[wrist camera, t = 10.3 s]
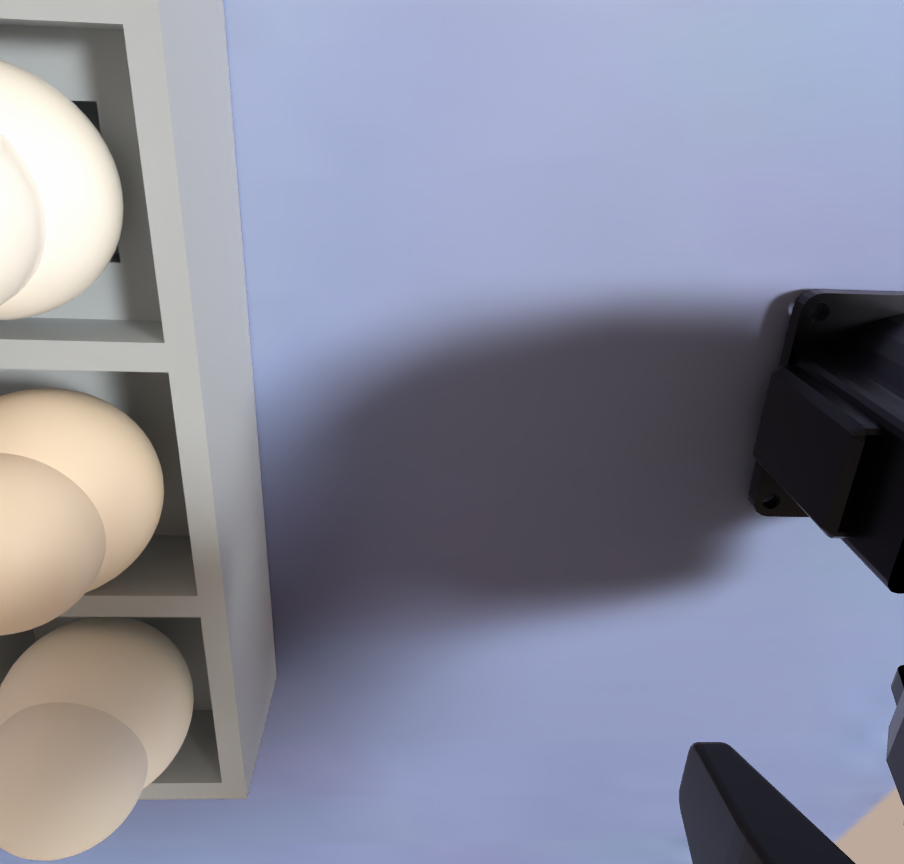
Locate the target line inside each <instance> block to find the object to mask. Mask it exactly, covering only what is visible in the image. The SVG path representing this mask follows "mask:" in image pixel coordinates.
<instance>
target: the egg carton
mask: <svg viewBox="0 0 904 864" xmlns="http://www.w3.org/2000/svg"><path fill="white" fill-rule="evenodd" d="M0 59H1V60H3V61H6V62H8V63H11V64H13V65H16V66H19V67H21V68H23V69H25V70H27V71H29V72H31V73H33V74H34V75H36V76H38V77H40V78H42V79H44V80H45V81H46V82H48V83H49V84H51V85H52V86H54V87H55V88H57V89H58V90H59V91H60V92H62V93H63V94H64V95H65V96H66V97H67V98H69V99H70V100H71V101H72V102H73V103H74V104H75V105H76V106H77V107H78V108H79V109H80V110H81V111H82V112H83V113H84V114H85V115H86V116H87V117H88V119H89V120H90V121H91V122H92V124H93V125H94V126H95V128H96V129H97V130H98V132H99V133H100V135H101V137H102V138H103V140H104V142H105V143H106V145H107V147H108V149H109V151H110V153H111V155H112V157H113V159H114V162H115V165H116V168H117V171H118V174H119V177H120V182H121V187H122V192H123V205H124V208H123V224H122V229H121V234H120V239H119V242H118V245H117V247H116V250H115V253H114V254H113V256H112V258H111V260H110V262H109V264H108V265H107V267H106V269H105V270H104V271H103V273H102V274H101V275H100V277H99V278H98V279H97V280H96V281H95V282H94V283H93V284H92V285H91V286H90V287H89V288H88V289H87V290H86V291H84V292H83V293H82V294H81V295H79V296H78V297H76V298H75V299H73V300H72V301H70V302H69V303H66V304H64V305H62V306H60V307H58V308H56V309H54V310H51V311H49V312H46V313H43V314H39V315H36V316H31V317H26V318H20V319H13V320H0V848H2V849H3V850H5V851H7V852H8V853H10V854H13V855H15V856H18V857H21V858H24V859H30V860H42V861H48V860H57V859H62V858H66V857H70V856H74V855H76V854H79V853H81V852H84V851H86V850H88V849H90V848H92V847H93V846H95V845H97V844H98V843H100V842H101V841H103V840H104V839H106V838H107V837H108V836H109V835H110V834H111V833H113V832H114V831H115V830H116V829H117V828H118V827H119V826H120V825H121V824H122V823H123V821H124V820H125V819H126V818H127V816H128V815H129V814H130V812H131V811H132V809H133V808H134V806H135V804H136V803H137V801H138V800H160V799H247V797H248V793H249V789H250V785H251V780H252V776H253V772H254V768H255V764H256V760H257V756H258V752H259V748H260V744H261V740H262V735H263V731H264V727H265V723H266V719H267V715H268V711H269V707H270V703H271V699H272V695H273V690H274V686H275V682H276V678H277V671H276V658H275V645H274V633H273V620H272V608H271V595H270V582H269V570H268V557H267V545H266V532H265V519H264V507H263V494H262V482H261V469H260V456H259V444H258V431H257V418H256V406H255V393H254V381H253V368H252V355H251V343H250V330H249V318H248V305H247V292H246V280H245V267H244V255H243V242H242V229H241V217H240V204H239V192H238V179H237V166H236V154H235V141H234V128H233V116H232V103H231V91H230V78H229V65H228V53H227V40H226V28H225V15H224V2H223V0H0Z"/></svg>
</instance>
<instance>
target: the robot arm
mask: <svg viewBox="0 0 904 864" xmlns="http://www.w3.org/2000/svg"><path fill="white" fill-rule="evenodd" d="M818 303H821V304H822V309H821V311H820V313H819V314H818V315H817V316H815V317H813V318H810V311H811V309H812V307H813V306H815V305H816V304H818ZM753 456H754V457H755V458H756V460H757V461H756V465H755V469H754V473H753V478H752V482H751V486H750V490H749V498H748V500H749V502H750V504H751V505H752V507H753V508H754V509H755V510H756V512H758V513H759V514H761V515H763V516H779V517H810V518H811V519H812V520H813V521H814V522H815V523H816V524H817V526H818V527H819V528H820V529H821V530H822V531H823V532H824V533H825V534H826V535H827V536H828V537H830V538H841V539H842V540H843V542H844V543H845V544H846V545H847V546H848V547H849V548H850V549H851V550H852V551H853V552H854V553H855V554H856V555H857V556H858V557H859V558H860V559H861V560H862V561H863V562H864V564H865V565H866V566H867V567H868V568H869V569H870V570H871V571H872V572H873V573H874V574H875V575H876V576H877V577H878V578H879V579H880V580H881V581H882V582H883V583H884V584H885V586H886V587H887V588H888V589H889V590H890V591H891V592H894V593H904V292H893V291H860V290H826V289H815V290H809V291H807V292H805V293H804V294H802V295H801V296H800V297H799V298H798V299H797V300H796V302H795V305H794V307H793V310H792V314H791V319H790V323H789V327H788V331H787V335H786V340H785V344H784V348H783V352H782V356H781V360H780V365H779V367H778V368H777V369H776V370H775V371H774V372H773V373H772V375H771V379H770V383H769V388H768V392H767V396H766V400H765V405H764V409H763V413H762V417H761V421H760V426H759V430H758V434H757V438H756V443H755V447H754V451H753ZM772 493H774V496H773V497H772V499H770V500H769V501H766V502H763V499H764V498H765V497H766V496H767V495H768V494H772ZM891 689H892V692H893V695H894V699H895V702H896V705H897V708H896V710H895V713H894V715H893V718H892V720H891V723H890V725H889V732H888V745H887V759H886V760H887V763H888V766H889V768H890V771H891V774H892V776H893V779H894V782H895V784H896V787H897V790H898V792H899V795H900V798H901V800H902V803H903V805H904V665H902V666H899V667H898V669H897V672H896V674H895V677H894V680H893V682H892V685H891ZM679 803H680V810H681V815H682V819H683V823H684V828H685V832H686V836H687V841H688V845H689V849H690V854H691V858H692V862H693V864H855V863H854V862H853V861H852V860H851V859H850V858H849V857H848V856H847V855H845V853H844V852H843V851H841V850H840V849H839V848H838V847H837V846H836V845H835V844H834V843H833V842H832V841H831V840H830V839H829V838H828V837H827V836H826V835H824V834H823V833H822V832H821V831H820V830H819V829H818V828H817V827H816V826H815V825H814V824H813V823H812V822H811V821H810V820H809V819H807V818H806V817H805V816H804V815H803V814H802V813H801V812H800V811H799V810H798V809H797V808H796V807H795V806H794V805H793V804H792V803H791V802H789V801H788V800H787V799H786V798H785V797H784V796H783V795H782V794H781V793H780V792H779V791H778V790H777V789H776V788H775V787H774V786H772V785H771V784H770V783H769V782H768V781H767V780H766V779H765V778H764V777H763V776H762V775H761V774H760V773H759V772H758V771H757V770H755V769H754V768H753V767H752V766H751V765H750V764H749V763H748V762H747V761H746V760H745V759H744V758H743V757H742V756H741V755H740V754H739V753H737V752H736V751H735V750H734V749H733V748H732V747H731V746H729V745H728V744H726V743H722V742H697V743H694V744H693V745H692V746H691V747H690V749H689V752H688V756H687V760H686V764H685V768H684V772H683V776H682V781H681V785H680V790H679Z"/></svg>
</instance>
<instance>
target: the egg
mask: <svg viewBox="0 0 904 864" xmlns="http://www.w3.org/2000/svg"><path fill="white" fill-rule="evenodd" d="M123 208H124V205H123V192H122V187H121V182H120V177H119V174H118V171H117V168H116V165H115V162H114V159H113V157H112V155H111V153H110V151H109V149H108V147H107V145H106V143H105V142H104V140H103V138H102V137H101V135H100V133H99V132H98V130H97V129H96V128H95V126H94V125H93V124H92V122H91V121H90V120H89V119H88V117H87V116H86V115H85V114H84V113H83V112H82V111H81V110H80V109H79V108H78V107H77V106H76V105H75V104H74V103H73V102H72V101H71V100H70V99H69V98H67V97H66V96H65V95H64V94H63V93H62V92H60V91H59V90H58V89H57V88H55V87H54V86H52V85H51V84H49V83H48V82H46V81H45V80H44V79H42V78H40V77H38V76H36V75H34V74H33V73H31V72H29V71H27V70H25V69H23V68H21V67H19V66H16V65H13V64H11V63H8V62H6V61H3V60H1V59H0V320H13V319H20V318H26V317H31V316H36V315H39V314H43V313H46V312H49V311H51V310H54V309H56V308H58V307H60V306H62V305H64V304H66V303H69V302H70V301H72V300H73V299H75V298H76V297H78V296H79V295H81V294H82V293H83V292H84V291H86V290H87V289H88V288H89V287H90V286H91V285H92V284H93V283H94V282H95V281H96V280H97V279H98V278H99V277H100V275H101V274H102V273H103V271H104V270H105V269H106V267H107V265H108V264H109V262H110V260H111V258H112V256H113V254H114V253H115V250H116V247H117V245H118V242H119V239H120V234H121V229H122V224H123Z"/></svg>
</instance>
